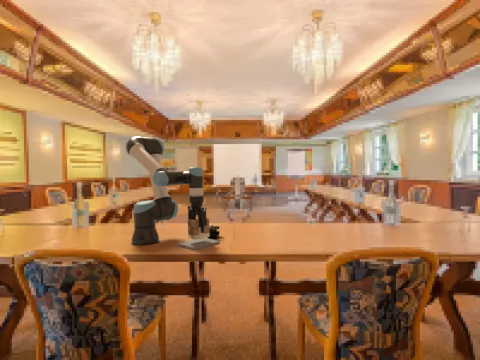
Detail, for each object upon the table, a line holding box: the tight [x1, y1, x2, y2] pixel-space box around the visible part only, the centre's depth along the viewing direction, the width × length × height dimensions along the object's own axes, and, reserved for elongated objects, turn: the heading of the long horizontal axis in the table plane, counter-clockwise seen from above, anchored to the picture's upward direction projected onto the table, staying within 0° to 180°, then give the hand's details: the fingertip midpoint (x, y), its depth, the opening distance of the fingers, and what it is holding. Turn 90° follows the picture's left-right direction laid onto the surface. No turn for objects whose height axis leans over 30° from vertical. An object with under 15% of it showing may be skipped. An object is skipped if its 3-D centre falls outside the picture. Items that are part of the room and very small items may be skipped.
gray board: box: [177, 237, 221, 251], centre depth 159 cm, size 14×18×1 cm
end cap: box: [206, 224, 220, 240], centre depth 176 cm, size 10×7×7 cm
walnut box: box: [187, 217, 210, 240], centre depth 159 cm, size 6×10×10 cm, turn 137°
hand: (197, 237), depth 158 cm, fingers closed on walnut box, 6 cm apart
